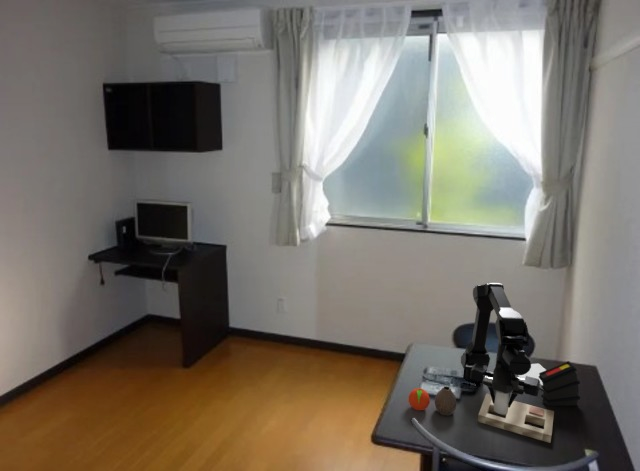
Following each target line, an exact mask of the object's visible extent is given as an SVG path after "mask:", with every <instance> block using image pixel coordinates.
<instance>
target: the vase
mask: <svg viewBox="0 0 640 471" xmlns="http://www.w3.org/2000/svg"><path fill="white" fill-rule="evenodd" d="M434 406H435V409H436V411H437V412H438V413H439V414H440V415H443V416H450V415H452V414H454V412H455V411H456V408H457V398H456V394H455V393H454V392H453V391H452V388H451V386H447V385H444V386H443V387H442V388H441V389H439V391H438V392H437V393H436V395H435V398H434Z"/></svg>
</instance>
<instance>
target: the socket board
mask: <svg viewBox="0 0 640 471" xmlns="http://www.w3.org/2000/svg"><path fill="white" fill-rule="evenodd" d="M489 412H492V413H494V414H492V413H489ZM495 414H499V413H497V412H495V411H494V403H493V402H492V398H491V394H489V393H485V396H484V399H483V402H482V404H481V406H480V410H479V412H478V416H477V417H478V418H477V422H478V423H482V424H485V425H489V426H491V427H494V428H498V429H502V430H505V431H508V432H512V433H515V434H518V435H520V436H521V435H522V436H525V437H529V438H532V439H535V440H538V441H543V442H545V443H549V444H551V441H552V434H553V425H554V424H553V423H554V417H555V416H554V415H555V411H554V410H550V409H547V408H543V407H538V406H534V405H531V404H527V403H525V402H524V403H523V402H520V401H516V400H514V401H513V402H512V404H511V406H510V408H509V407H508V413H507V414H499V415H502V416H505V417H502V416H498V415H495ZM526 422H527V424H525V423H526ZM528 423H530V424H528ZM531 424H533V426H532V425H531ZM534 425H537V426H541V427H543V428H540V427H537V426H534Z"/></svg>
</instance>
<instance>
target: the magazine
mask: <svg viewBox="0 0 640 471" xmlns="http://www.w3.org/2000/svg"><path fill="white" fill-rule="evenodd" d="M576 372H577V368H576V366H574V364H573V363H572V362H570V361H569V360H567V361H565V362H562V363H560V364H557V365H556V366H554V367H550V368H549V369H546V371H543V372H541V373H539V375H540V376H539V378H540V380H541V381H542V383H543V385H542V386H541V387H542V388H543V389H542V390H543V391H542V392H543V393H542V394H541V395H540V396H541V398H542V402H543V403H544V404H545V406H548V407H549V406H553V407H554V406H558V407H559V406H578V402H579V400H580V399H581V396H580V395H579V391H580V390H579V385H580V384H581V383H580V380H579V379H578V375H577V373H576Z"/></svg>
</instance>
